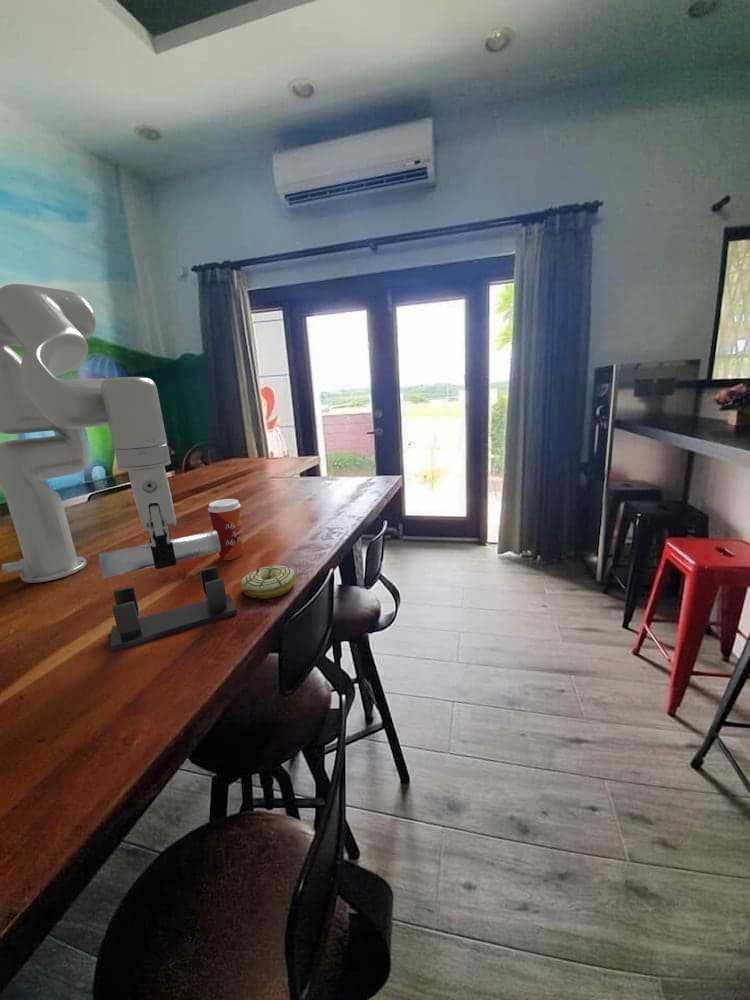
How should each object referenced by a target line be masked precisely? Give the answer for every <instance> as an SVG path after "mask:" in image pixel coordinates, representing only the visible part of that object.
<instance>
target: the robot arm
mask: <svg viewBox="0 0 750 1000" xmlns="http://www.w3.org/2000/svg"><path fill="white" fill-rule="evenodd" d="M96 328H97V320H96V316H95V312H94V309H93V308H92V307H91V305H90V304H89V302H88V301H87V300H86V298H84V297H83V296H82V295H80V294H78V293H76V292H74V291H72V290H71V291H70V290H66V289H58V288H51V287H45V286H38V285H32V284H25V283H23V284H22V283H11V284H5V285H4V286H1V287H0V434H4V435H5V434H7V435H21V434H31V433H32V434H33V433H42V432H53V433H54V435H50V436H43V437H31V438H30V437H28V438H21V439H20V438H19V439H12V440H11V439H10V440H6V441H3V442H0V488H1V491H2V493H3V495H4V498H5V501H6V504H7V507H8V510H9V514H10V517H11V519H12V523H13V527H14V530H15V532H16V533H15V534H16V536H17V540H18V543H19V545H20V550H21V552H22V555H23V558H22V559H18V560H19V561H15V562H6V563H3V564H1V569H2V572H3V573H6V574H13V573H17V572H20V580H21V581H22V582H24V583H28V584H29V583H30V584H31V583H33V584H34V583H35V584H36V583H45V582H49V581H54V580H59V579H61V578H64V577H65V578H66V577H68V576H70V575H72V574H76V573H78V572H79V571H81V570H82V569H84V568H85V567H86V566H87V559H86V558H85V557H83V556H78V555H77V552H76V548H75V545H74V540H73V537H72V533H71V530H70V525H69V523H68V522H69V521H68V517H67V514H66V510H65V507H64V503H63V499H62V498H61V497H62V496H61V495H60V494H59V493H58V492H57V491H56V490H54V489H53V488H51V486H48V485H46V484H45V483H44V481H46V480H50V479H55V478H62V477H64V476H65V477H66V476H72V475H75V474H79V473H82V472H83V471H85V469H86V468H87V466H88V455H87V447H86V443H85V435H84V431H83V429H85V428H95V427H105V426H108V428H109V433H110V436H111V441H112V446H113V451H114V455H115V459H116V463H117V468H118V470H119V471H124V472H125V471H127V472H128V478H129V481H130V485H131V486H130V487H131V490H132V495H133V499H134V502H135V506H136V509H137V513H138V516H139V518H140V522H141V525H142V527H143V530H145V531H148V532H149V542H150V543H152V546H151V550H152V555H153V560H154V565H155V567H154V568H155V570H160V569H164V568H170V567H173V566H176V565H177V562H176V559H175V554H174V549H173V543H172V542H171V541H170V539H172V537H171V534H170V532H169V527H168V525H172V526H176V525H177V517H176V513H175V509H174V502H173V499H172V492H171V488H170V484H169V483H170V482H169V478H168V474H167V471H166V466H169V465H171V464H172V461H171V456H170V449H169V445H168V439H167V433H166V429H165V424H164V419H163V413H162V408H161V402H160V398H159V392H158V391H159V390H158V388H157V385H156V382H155V381H154V380H153V379H151V378H150V377H146V376H145V377H144V376H125V377H124V376H123V377H122V376H121V377H111V378H100V377H99V378H98V377H97V378H95V377H94V378H93V377H92V378H91V377H89V378H86V377H85V378H79V377H78V378H59V376H61V375H64V374H66V373H68V372H70V371H73V370H75V369H76V368H78V367H80V365H82V364H83V363H84V361H85V360H86V359H87V357H88V352H89V346H88V342H87V341H86V340H88V339H90V338H91V337H92V336H93V335H94V334H95V331H96ZM11 347H20V348H21V347H22V348H25V349H26V351H25V353H24V354H23V357H21V356H20V355H19V354H18V353H17V352H16V351H15V350H13V349H12V348H11ZM150 543H149V544H150Z"/></svg>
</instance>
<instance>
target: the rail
mask: <svg viewBox="0 0 750 1000" xmlns="http://www.w3.org/2000/svg"><path fill="white" fill-rule="evenodd" d="M170 541H171V542H172V543H173V549H174V554H175V559H176V563H177V562H181V561H186V560H189V559H193V558H198V557H203V556H208V555H213V554H216V553H219V552H221V548H220V541H219V537H218V533H217V531H216V530H215V531H214V530H212V531H206V532H201V533H196V534H191V535H186V536H180V537H176V538H171V539H170ZM151 546H152V543H146V544H141V545H136V546H132V547H131V546H130V547H127V548H121V549H116V550H111V551H107V552H101V553H98V562H99V563H98V564H99V569H100V573H101V576H102V578H103V579H106V578H110V577H114V576H115V577H116V576H120V575H123V574H129V573H132V572H137V571H141V570H146V569H150V568H155V565H154V560H153V555H152V550H151Z"/></svg>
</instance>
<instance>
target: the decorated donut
mask: <svg viewBox="0 0 750 1000" xmlns="http://www.w3.org/2000/svg"><path fill="white" fill-rule="evenodd" d="M294 570H295V569H293V568H291V567H289V566H287V565H286V566H285V565H283V564H282V565H281V564H278V565H268V566H267V565H266V566H263V567H260V568H259V567H258V568H256V569H254V570H253V571H251V572H249V573H247V574H246V575H245V576H244V577H242V579H241V581H240V584H241V590H242V592H243V594H244V595H245V596H246V597H250V598H251V599H258V600H260V599H265V600H268V599H274V598H277V597H278V598H279V597H281V596H284V595H286V594H288V592H289V591H291V589H292V588H293V585H294V584H295V582H296V574H295V571H294Z"/></svg>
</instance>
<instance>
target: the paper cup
mask: <svg viewBox="0 0 750 1000" xmlns="http://www.w3.org/2000/svg"><path fill="white" fill-rule="evenodd" d="M241 507H242V505H241V504H240V502H239V500H238V499H235V498H224V499H223V498H222V499H217V500H214V501H212V502H210V503H209V504H208V508H207V511H208V512H209V516H210V520H211V521H210V522H211V525H212V529H213V530H212V531H215V530H216V531H217V533H218V537H219V541H220V548H221V552H218V555H219V558H220V560H222V559H226V560H225V561H228V560H227V559H233V560H236V559H235V558H237V557H239V558H241V557H242V556H243V555H244V548H243V546H244V545H243V534H242V533H243V532H242V519H241V509H240V508H241ZM242 554H243V555H242ZM241 555H242V556H241ZM240 556H241V557H240ZM237 559H238V558H237Z"/></svg>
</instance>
